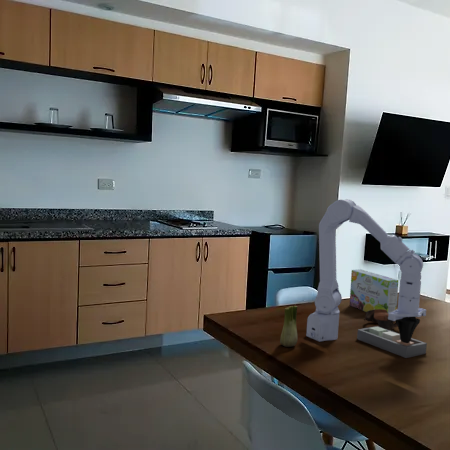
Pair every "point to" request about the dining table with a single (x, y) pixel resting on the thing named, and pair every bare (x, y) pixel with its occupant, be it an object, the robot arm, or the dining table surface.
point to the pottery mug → (380, 319)
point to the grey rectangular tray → (392, 344)
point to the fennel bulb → (289, 327)
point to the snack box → (373, 291)
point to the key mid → (391, 336)
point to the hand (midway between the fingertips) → (405, 342)
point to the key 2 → (404, 343)
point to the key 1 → (377, 331)
